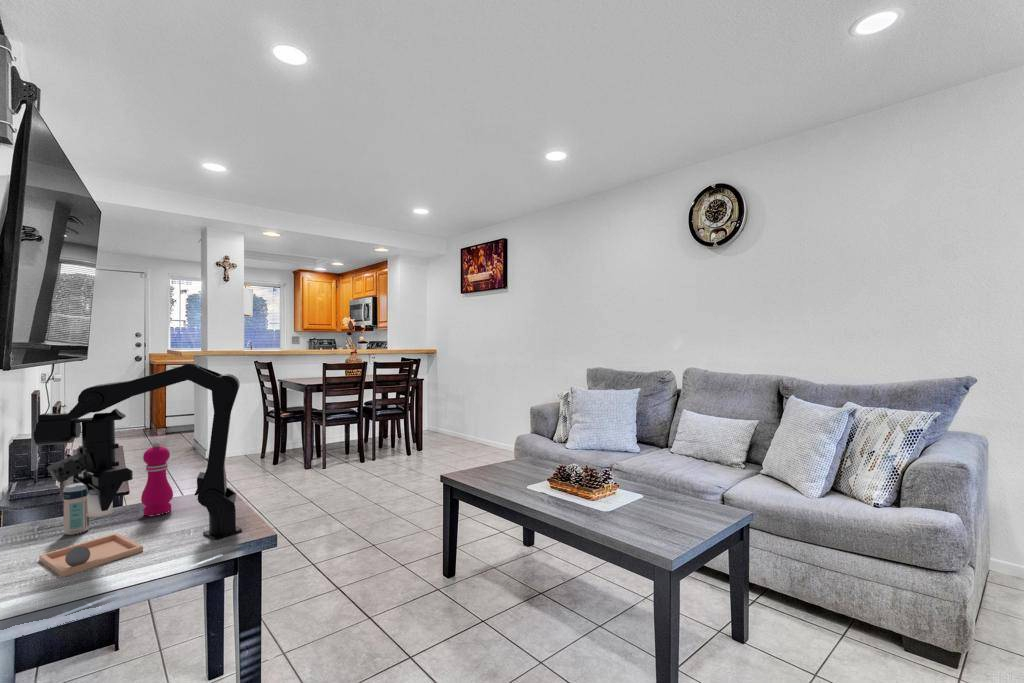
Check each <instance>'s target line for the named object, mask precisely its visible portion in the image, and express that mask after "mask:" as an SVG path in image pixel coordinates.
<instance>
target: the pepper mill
mask: <svg viewBox="0 0 1024 683" xmlns="http://www.w3.org/2000/svg"><path fill="white" fill-rule="evenodd" d="M170 457H171V454H170V450H169V449H168V448H167V447H165V446H161V441H159V440H156V441H154V442H152V447H150V448H148V449H147V450H145V452H144V453H143V458H142V459H143V460H142V461H143V462H144V463H145V464H146V466H145V472H147V480H146V484H145V486H144V488H143V491H142V493H141V499H140V501H141V504H142V505H144V506H145V507H144V508H143V516H144V515H148V516H147V517H151V516H150V515H157V514H162V513H166V512H168V511H170V510H171V511H172V504H171V500H172V499H173V498H174V490H173V488H172V486H171V484H170V483H169V481H168V478H167V469H168V468H169V466H168V465H169V464H168V462H167V461H168V460H169V459H170ZM171 511H170V512H171ZM168 513H169V512H168ZM166 514H167V513H166Z"/></svg>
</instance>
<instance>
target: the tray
mask: <svg viewBox="0 0 1024 683" xmlns="http://www.w3.org/2000/svg"><path fill="white" fill-rule="evenodd" d="M79 546H83V547H86V548H88V549H89V550H90V558H89V559H88V561H87V562H86V563H84V564H81V565H77V566H74V567H72V566H69V565H68V564H67V563H66V561H65V558H66V555H67V553H68V552H69V551H70V550H71V549H73V548H75V547H79ZM141 552H144V546H143V545H142V544H140V543H138V542H136V541H134V540H132V539H131V538H128V537H126V536H124V535H122V534H120V533H118V532H116V533H115V532H114V533H112V534H109V535H108V534H107V535H106V536H102V537H98V538H95V539H90V540H88V541H84V542H80V543H77V544H73V545H70V546H67V547H64V548H63V547H62V548H60V549H57V550H52V551H49V552H45V553H43V554H39V556H38V557H39V558H38V559H39V562H41V563H43V564H44V565H45V566H46V567H48V568H49V569H51V570H52V571H53V572H55V573H56V574H57V575H58V576H60V577H61V578H64V577H68V576H72V575H74V574H77V573H80V572H83V571H85V570H89V569H92V568H95V567H98V566H102V565H105V564H108V563H111V562H113V561H116V560H120V559H123V558H127V557H129V556H132V555H136V554H138V553H141Z"/></svg>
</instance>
